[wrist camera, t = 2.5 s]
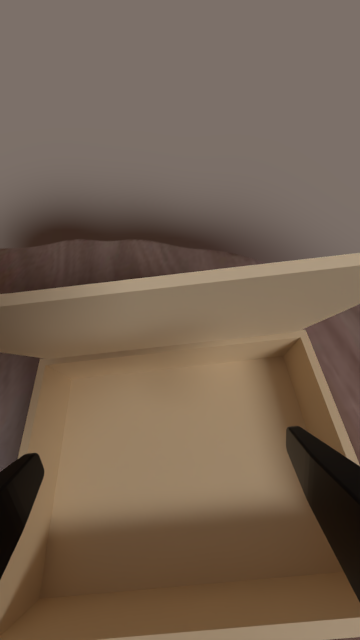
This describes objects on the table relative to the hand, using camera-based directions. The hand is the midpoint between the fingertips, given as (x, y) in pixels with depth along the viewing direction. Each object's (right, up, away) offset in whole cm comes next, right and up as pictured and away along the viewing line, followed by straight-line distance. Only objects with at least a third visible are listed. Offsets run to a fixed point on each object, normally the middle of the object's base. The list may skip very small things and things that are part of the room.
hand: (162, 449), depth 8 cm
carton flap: (0, +4, +4) cm, 6 cm away
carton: (+1, -7, +11) cm, 13 cm away
